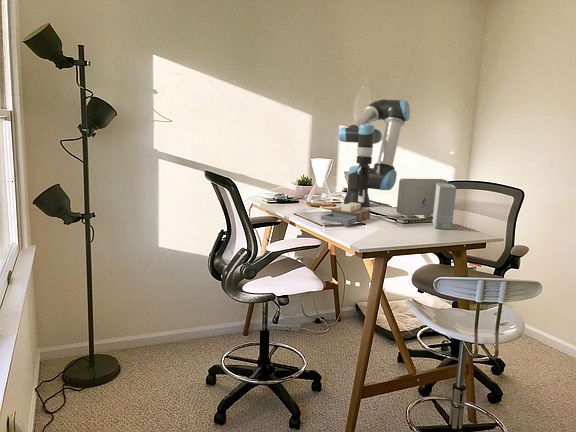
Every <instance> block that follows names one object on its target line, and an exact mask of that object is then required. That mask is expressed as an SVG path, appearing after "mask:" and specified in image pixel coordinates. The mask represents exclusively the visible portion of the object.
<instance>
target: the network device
mask: <svg viewBox="0 0 576 432" xmlns="http://www.w3.org/2000/svg"><path fill="white" fill-rule="evenodd" d="M437 183H443V184H449V183H448V180H447V179H442V178H401V179H399V181H398V194H397V200H396V201H397V205H396V212H397V213H398V214H399V215H401V216H402V215H429V216H428V217H433V211H434V202H435V193H436V184H437Z"/></svg>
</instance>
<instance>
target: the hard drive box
mask: <svg viewBox="0 0 576 432" xmlns="http://www.w3.org/2000/svg"><path fill="white" fill-rule="evenodd" d="M456 195H457V187H456V186H455V185H454V184H452V183H448V184H443V183H437V184H436V193H435V202H434V211H433V214H432V215H433V216H432V217H433V219H431V220H432V224H433V228H434V229H441V230H442V229H443V230H452V229H453V228H452V227H453V219H454V211H455V204H456Z"/></svg>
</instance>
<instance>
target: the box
mask: <svg viewBox="0 0 576 432" xmlns="http://www.w3.org/2000/svg"><path fill="white" fill-rule="evenodd" d="M321 219H322V220H327V221H332V222H337V223H341V224H344V226H345V227H344V228H350V227H351V226H350V225H351V224H353V223H355V222H357V217H356V216H349V215H343V214H337V213H331V212H329V213H325V214H322V215H320V220H321ZM349 226H350V227H349Z"/></svg>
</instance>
